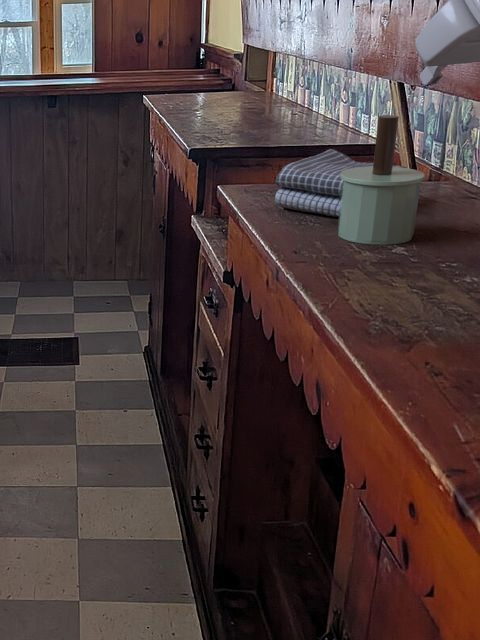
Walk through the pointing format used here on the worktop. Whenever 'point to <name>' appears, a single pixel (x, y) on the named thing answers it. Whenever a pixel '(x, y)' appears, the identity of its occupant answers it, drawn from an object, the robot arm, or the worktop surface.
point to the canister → (378, 213)
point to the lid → (383, 161)
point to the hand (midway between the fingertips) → (455, 77)
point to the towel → (315, 183)
